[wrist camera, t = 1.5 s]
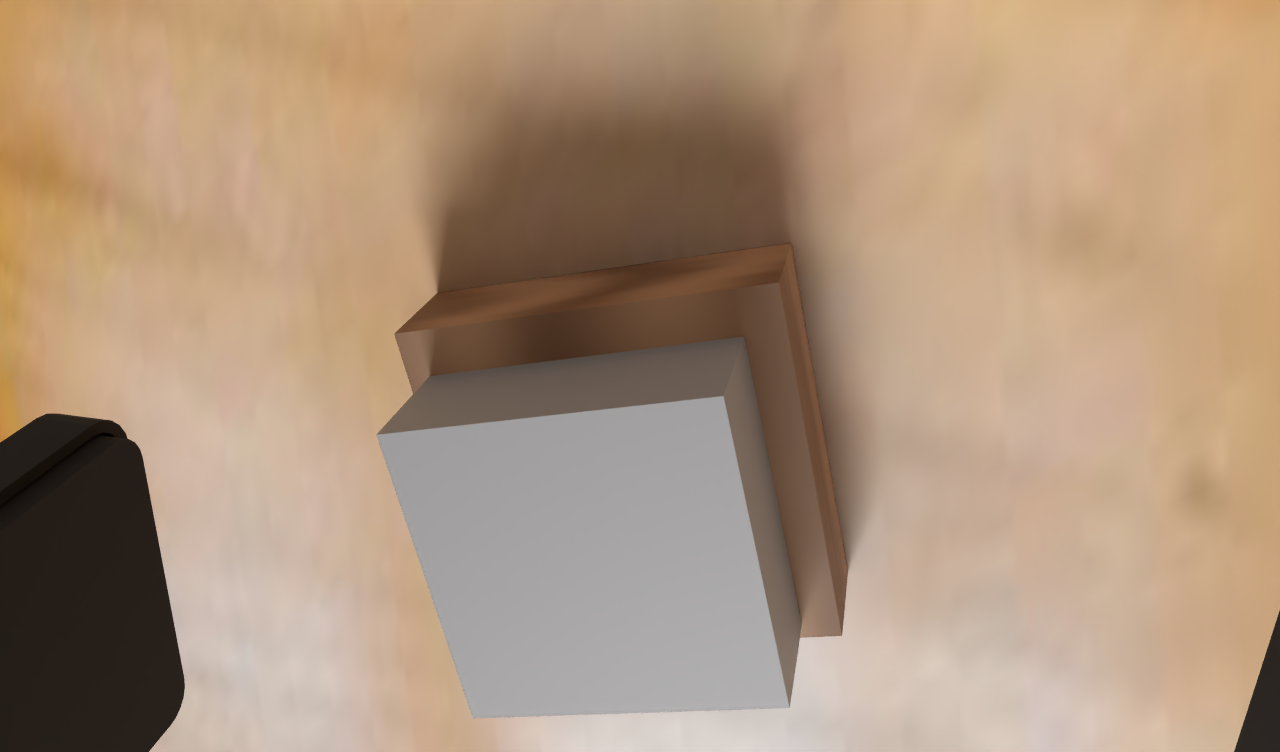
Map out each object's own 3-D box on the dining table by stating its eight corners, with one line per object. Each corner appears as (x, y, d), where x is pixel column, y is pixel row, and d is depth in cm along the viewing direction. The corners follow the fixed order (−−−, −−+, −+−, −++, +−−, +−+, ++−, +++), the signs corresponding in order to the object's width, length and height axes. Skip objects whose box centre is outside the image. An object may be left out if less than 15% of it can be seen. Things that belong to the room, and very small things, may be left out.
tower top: (744, 336, 33) (723, 395, 29) (801, 624, 37) (789, 707, 33) (429, 376, 36) (376, 434, 32) (512, 639, 39) (472, 718, 36)
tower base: (792, 238, 36) (778, 282, 32) (848, 565, 40) (842, 635, 36) (441, 288, 39) (394, 333, 35) (529, 585, 43) (495, 651, 40)
